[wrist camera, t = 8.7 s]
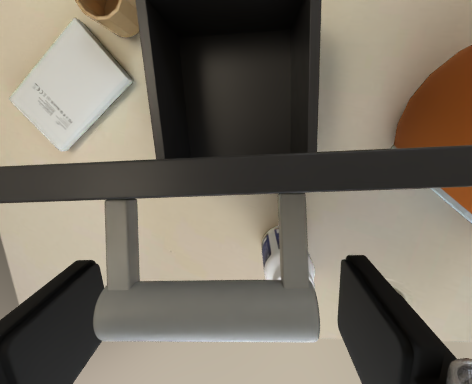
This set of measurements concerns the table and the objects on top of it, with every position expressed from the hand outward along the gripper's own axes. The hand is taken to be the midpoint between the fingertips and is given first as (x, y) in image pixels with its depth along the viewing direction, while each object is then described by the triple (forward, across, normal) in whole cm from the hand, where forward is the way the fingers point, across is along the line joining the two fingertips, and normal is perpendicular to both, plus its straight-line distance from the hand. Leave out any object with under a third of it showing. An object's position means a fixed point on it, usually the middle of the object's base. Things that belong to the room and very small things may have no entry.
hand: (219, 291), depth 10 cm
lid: (+5, 0, -3) cm, 6 cm away
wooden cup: (+23, +12, -18) cm, 32 cm away
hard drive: (+23, +19, -11) cm, 32 cm away
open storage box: (+23, 0, -8) cm, 24 cm away
